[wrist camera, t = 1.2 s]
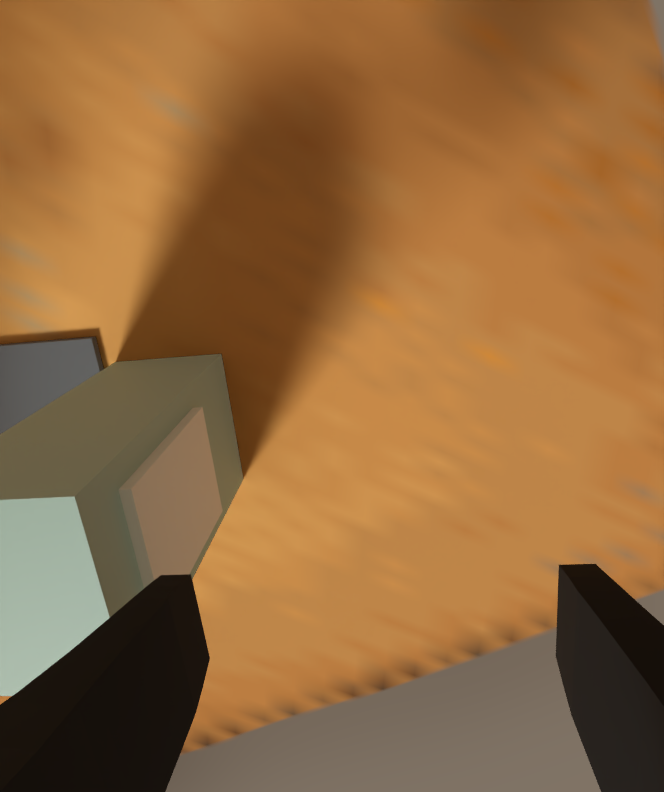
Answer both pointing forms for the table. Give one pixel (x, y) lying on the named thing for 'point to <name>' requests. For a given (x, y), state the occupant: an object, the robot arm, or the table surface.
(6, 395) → the mat
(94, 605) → the sage block
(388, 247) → the table surface
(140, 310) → the table surface
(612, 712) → the robot arm
